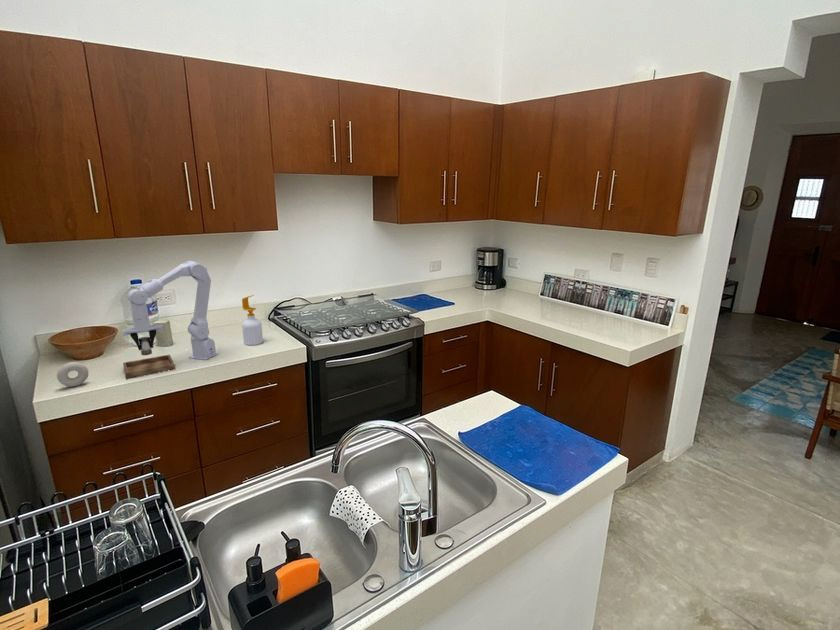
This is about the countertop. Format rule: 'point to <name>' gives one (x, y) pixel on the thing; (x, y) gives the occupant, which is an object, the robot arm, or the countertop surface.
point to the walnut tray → (148, 366)
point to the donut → (72, 366)
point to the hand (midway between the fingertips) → (145, 348)
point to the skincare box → (163, 333)
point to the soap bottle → (251, 326)
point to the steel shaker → (145, 345)
